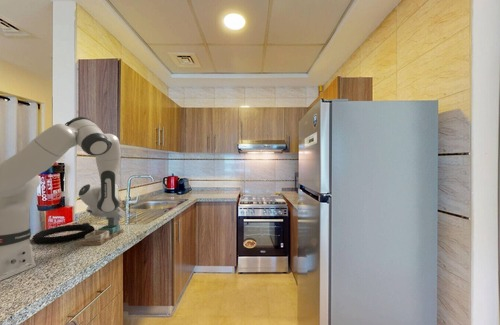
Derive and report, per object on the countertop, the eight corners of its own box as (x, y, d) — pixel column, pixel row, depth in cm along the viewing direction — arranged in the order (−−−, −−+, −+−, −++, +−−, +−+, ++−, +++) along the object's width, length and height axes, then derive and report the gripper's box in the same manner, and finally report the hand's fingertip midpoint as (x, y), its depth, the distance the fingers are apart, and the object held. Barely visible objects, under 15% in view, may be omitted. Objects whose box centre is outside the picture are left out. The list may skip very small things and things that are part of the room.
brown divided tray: (100, 245, 118) (100, 236, 118) (80, 245, 118) (80, 236, 118) (123, 231, 140) (123, 224, 140) (106, 232, 140) (106, 224, 140)
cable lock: (16, 237, 121) (67, 221, 150) (16, 244, 121) (67, 227, 151) (66, 238, 118) (108, 222, 148) (66, 246, 118) (108, 228, 148)
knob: (113, 230, 143) (113, 213, 143) (108, 229, 144) (108, 213, 144) (118, 228, 147) (118, 212, 147) (113, 228, 148) (113, 212, 148)
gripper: (119, 202, 137) (131, 215, 146) (89, 201, 141) (103, 214, 150) (113, 211, 132) (126, 224, 142) (83, 210, 136) (97, 222, 146)
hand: (114, 219), depth 146 cm, fingers open, 8 cm apart
